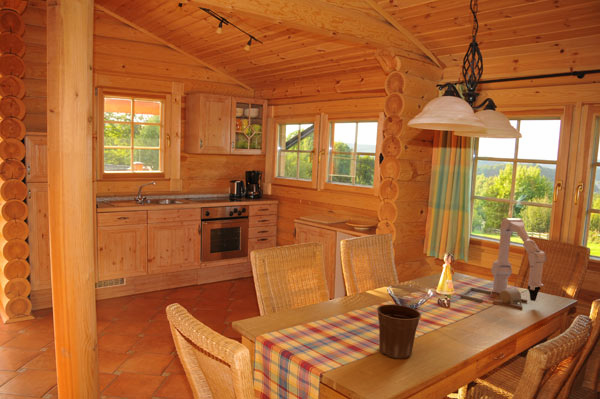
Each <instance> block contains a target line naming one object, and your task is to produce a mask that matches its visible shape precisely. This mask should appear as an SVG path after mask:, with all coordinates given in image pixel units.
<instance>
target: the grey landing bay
mask: <svg viewBox="0 0 600 399" xmlns="http://www.w3.org/2000/svg"><path fill="white" fill-rule="evenodd" d="M472 291H473V292H479V293H483V294H488V295H492V293H493V292H492V291H491V290H487V289H482V288H477V287H471V286H469V288H468V289H466V290H465V291H463V293H461V294H460V298H461V299H465V300H470V301H475V302H479V303H482V302H483V303H484V299H483V298H478V297H476V296H475V297H473V296H470V295H468V294H470V292H472Z"/></svg>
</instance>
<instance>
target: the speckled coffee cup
mask: <svg viewBox="0 0 600 399" xmlns="http://www.w3.org/2000/svg"><path fill="white" fill-rule="evenodd" d="M499 294H500V297H499V299H500V302H504V303H509V304H514V305H518V306H522V305H523V302H521V299H522V295H521V292H520V290H518V289H517V288H515V287H512V288H507V290H503V291H502V292H501V293H499Z"/></svg>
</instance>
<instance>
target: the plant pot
mask: <svg viewBox="0 0 600 399" xmlns="http://www.w3.org/2000/svg"><path fill="white" fill-rule="evenodd" d="M376 311H377V313H378V314H377V315H378V317H377V319H378V320H377V321H378V326H379V327H378V330H379V331H378V332H379V339H378V340H379V347H378V348H379V352H380V353H381V354H383V355H386V356H387V357H389V358H392V359H398V360H399V359H400V360H401V359H407V358H410V357H411V356H412V354H413V348H414V343H415V338H416V332H417V329H418V326H419V322H420V319H421V317H422V313H421V311H419V310H417V309H415V308H414V307H410V306H406V305H402V304H392V303H391V304H383V305H379V306H377V307H376Z"/></svg>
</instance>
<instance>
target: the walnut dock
mask: <svg viewBox="0 0 600 399" xmlns="http://www.w3.org/2000/svg"><path fill="white" fill-rule="evenodd" d="M498 298H500V293H498ZM521 302H522V303H524V304H527V303H528V299H525V298H521ZM492 304H494V305H498V306H504V307H508V308H511V309H516V310H523V309H524V308H523V306H522V305H521V306H518V305H519V304H518V305H514V304H509V303H504V302H502V301H501V300H500V301H499V300H494V299H493V300H492Z"/></svg>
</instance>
